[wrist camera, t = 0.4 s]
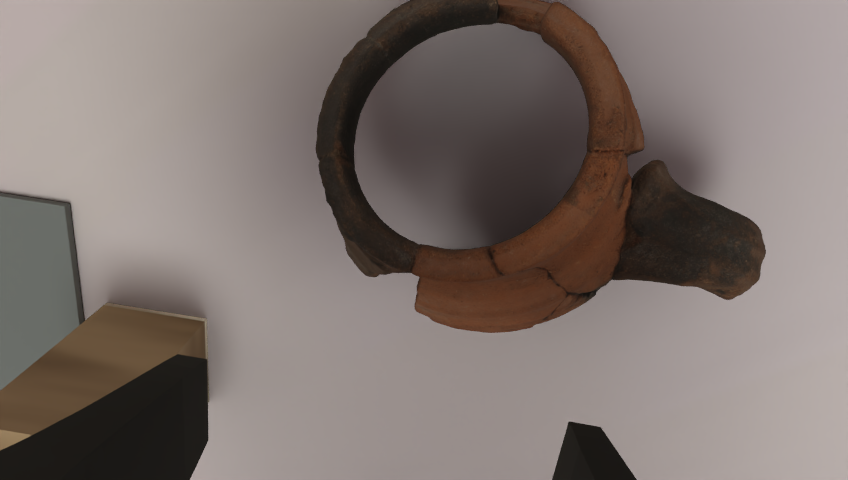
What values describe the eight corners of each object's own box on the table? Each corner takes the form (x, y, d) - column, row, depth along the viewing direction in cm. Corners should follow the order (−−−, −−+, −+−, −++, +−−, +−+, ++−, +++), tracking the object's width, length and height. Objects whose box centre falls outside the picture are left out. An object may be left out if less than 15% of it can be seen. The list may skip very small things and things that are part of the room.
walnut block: (209, 401, 25) (110, 547, 18) (115, 385, 25) (-15, 524, 18) (206, 318, 23) (98, 446, 17) (107, 302, 23) (-39, 422, 17)
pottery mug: (361, 289, 22) (239, 277, 15) (425, 52, 23) (341, -86, 15) (698, 386, 19) (780, 439, 11) (765, 105, 20) (890, -36, 12)
